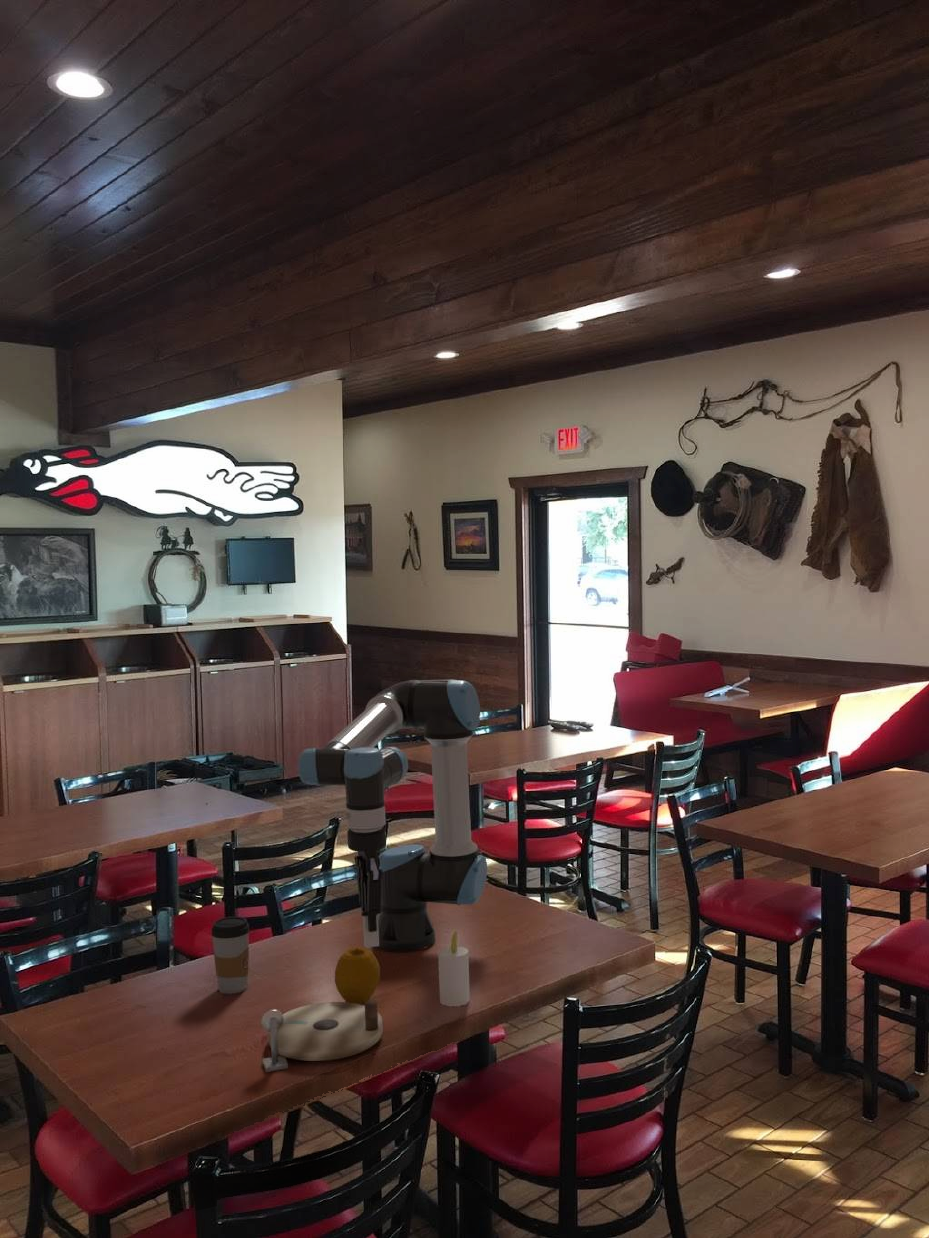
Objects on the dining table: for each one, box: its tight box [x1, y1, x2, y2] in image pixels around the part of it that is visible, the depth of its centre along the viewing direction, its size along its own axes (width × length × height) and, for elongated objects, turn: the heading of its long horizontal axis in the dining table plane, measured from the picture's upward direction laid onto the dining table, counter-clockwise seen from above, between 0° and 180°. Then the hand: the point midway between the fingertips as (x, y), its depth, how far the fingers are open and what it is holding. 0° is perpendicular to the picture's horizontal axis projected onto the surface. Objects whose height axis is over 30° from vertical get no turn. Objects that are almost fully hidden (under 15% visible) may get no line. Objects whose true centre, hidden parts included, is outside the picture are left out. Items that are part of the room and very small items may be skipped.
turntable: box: [268, 999, 384, 1062], centre depth 206 cm, size 22×22×7 cm
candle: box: [437, 930, 471, 1008], centre depth 223 cm, size 6×6×15 cm
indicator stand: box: [261, 1008, 289, 1073], centre depth 196 cm, size 4×4×10 cm
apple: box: [334, 946, 381, 1005], centre depth 223 cm, size 10×10×12 cm
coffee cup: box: [211, 916, 250, 995], centre depth 234 cm, size 8×8×15 cm
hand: (371, 945), depth 209 cm, fingers closed
